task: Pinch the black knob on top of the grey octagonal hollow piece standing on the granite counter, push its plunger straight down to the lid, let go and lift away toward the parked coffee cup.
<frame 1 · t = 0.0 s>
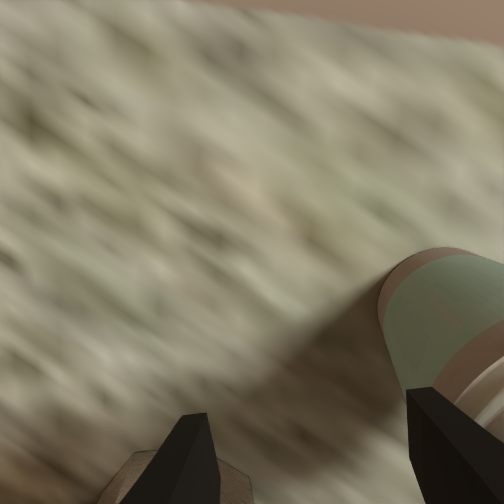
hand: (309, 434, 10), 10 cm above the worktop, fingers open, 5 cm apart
coffee cup: (435, 302, 21), on the worktop, touching gripper
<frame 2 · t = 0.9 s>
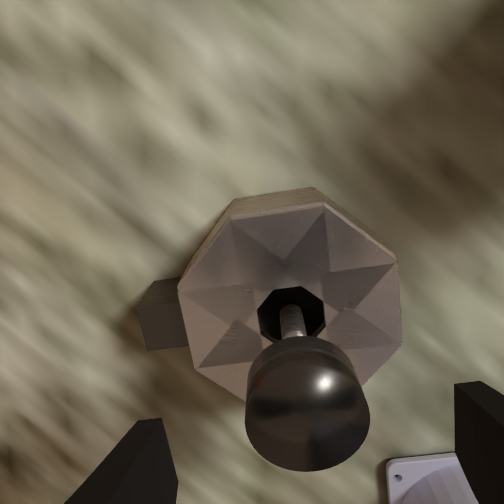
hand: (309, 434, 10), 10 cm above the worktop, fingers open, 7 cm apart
grey octagonal hollow piece: (285, 281, 20), on the worktop
plunger: (297, 356, 14), point 7 cm above the worktop, slide at 0.0 cm
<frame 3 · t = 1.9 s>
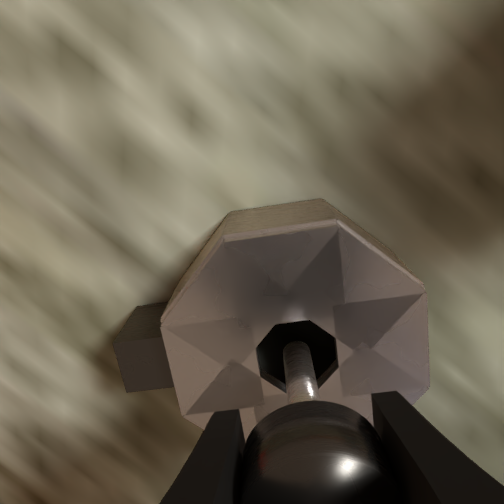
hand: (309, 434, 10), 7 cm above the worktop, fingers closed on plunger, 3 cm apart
grey octagonal hollow piece: (289, 306, 17), on the worktop
plunger: (306, 415, 11), point 7 cm above the worktop, slide at 0.0 cm, touching gripper
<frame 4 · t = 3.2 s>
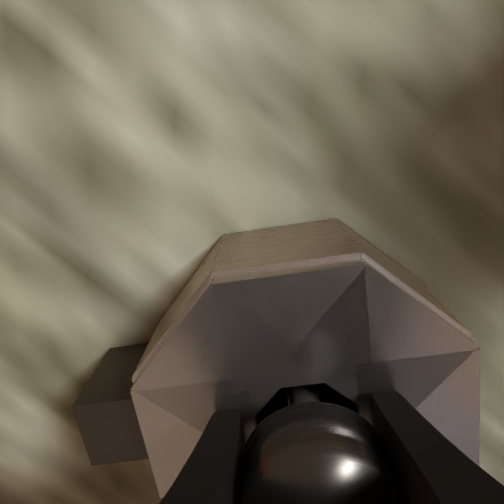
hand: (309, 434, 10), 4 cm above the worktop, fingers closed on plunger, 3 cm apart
grey octagonal hollow piece: (296, 348, 14), on the worktop
plunger: (306, 416, 11), point 3 cm above the worktop, slide at 3.3 cm, touching gripper
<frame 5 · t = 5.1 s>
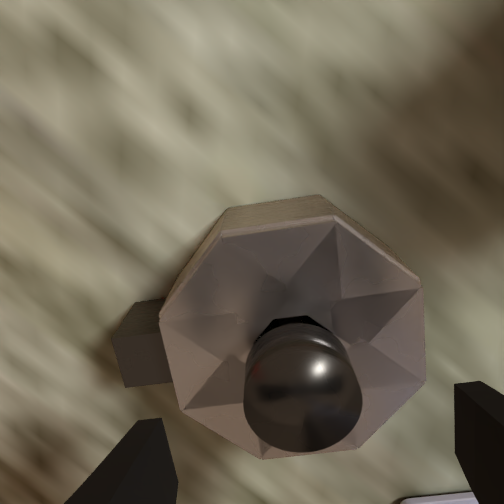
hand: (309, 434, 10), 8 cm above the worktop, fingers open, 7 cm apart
grey octagonal hollow piece: (287, 302, 18), on the worktop
plunger: (293, 344, 14), point 3 cm above the worktop, slide at 3.3 cm
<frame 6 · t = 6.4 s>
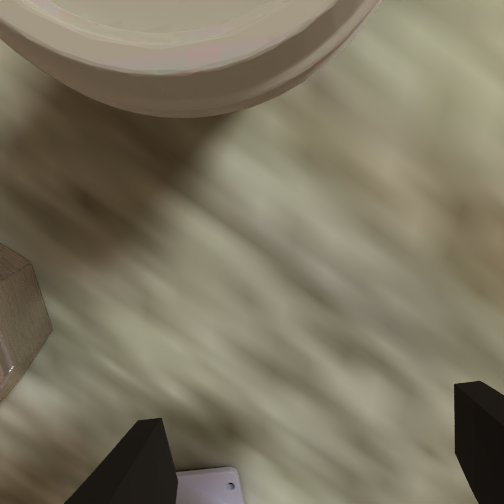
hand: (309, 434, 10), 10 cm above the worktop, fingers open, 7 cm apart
coffee cup: (220, 2, 16), on the worktop
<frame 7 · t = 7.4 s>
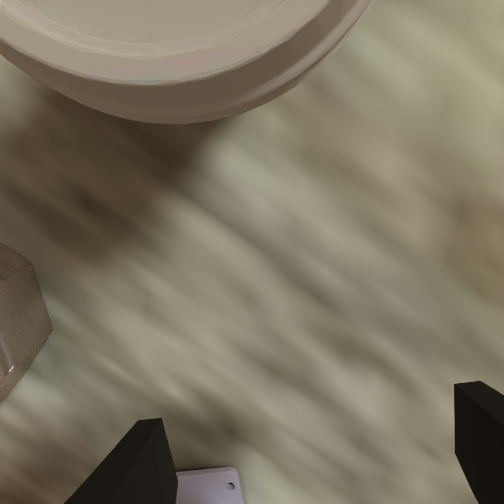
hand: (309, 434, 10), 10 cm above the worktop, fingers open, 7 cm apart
coffee cup: (220, 2, 16), on the worktop
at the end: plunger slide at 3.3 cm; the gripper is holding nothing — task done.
